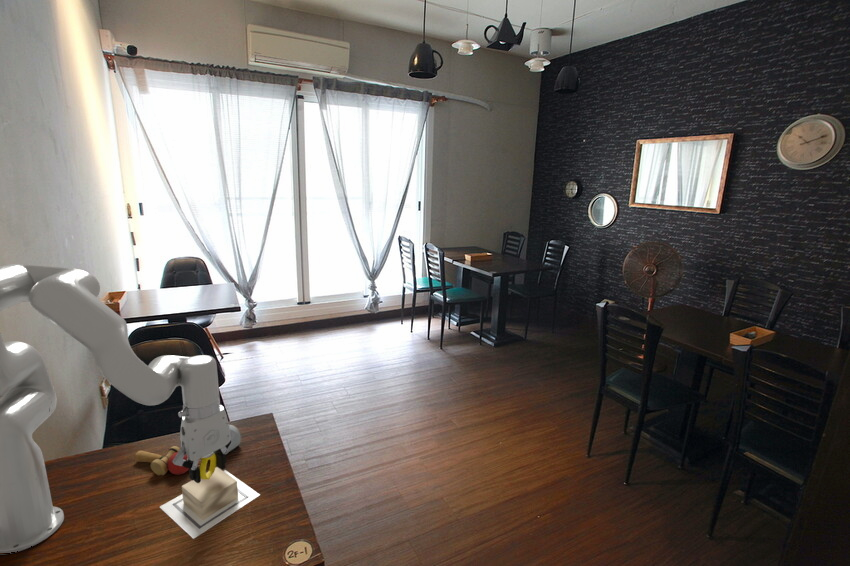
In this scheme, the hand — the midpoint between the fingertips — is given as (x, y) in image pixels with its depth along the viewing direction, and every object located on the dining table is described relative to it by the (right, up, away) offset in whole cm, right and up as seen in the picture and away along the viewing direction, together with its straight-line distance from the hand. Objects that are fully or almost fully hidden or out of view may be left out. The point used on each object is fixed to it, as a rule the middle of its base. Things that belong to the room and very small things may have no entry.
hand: (208, 472), depth 102 cm
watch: (0, -1, 0) cm, 1 cm away
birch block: (0, -8, +2) cm, 8 cm away
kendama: (-20, -5, +14) cm, 25 cm away
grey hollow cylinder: (-8, -4, +22) cm, 23 cm away
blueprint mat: (0, -8, +2) cm, 8 cm away
